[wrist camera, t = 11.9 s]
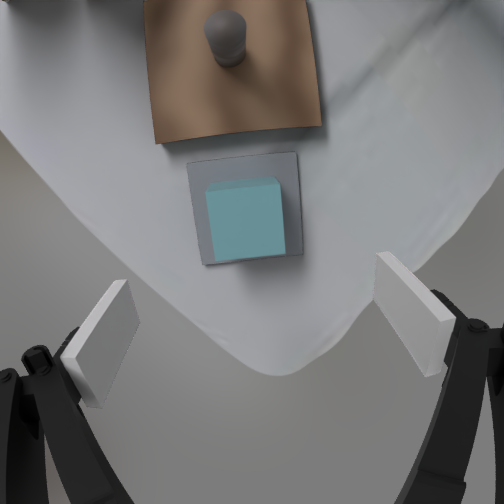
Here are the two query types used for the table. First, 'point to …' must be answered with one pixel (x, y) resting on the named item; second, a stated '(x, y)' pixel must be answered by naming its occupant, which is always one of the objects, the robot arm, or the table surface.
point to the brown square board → (229, 67)
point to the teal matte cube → (246, 218)
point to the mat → (240, 169)
